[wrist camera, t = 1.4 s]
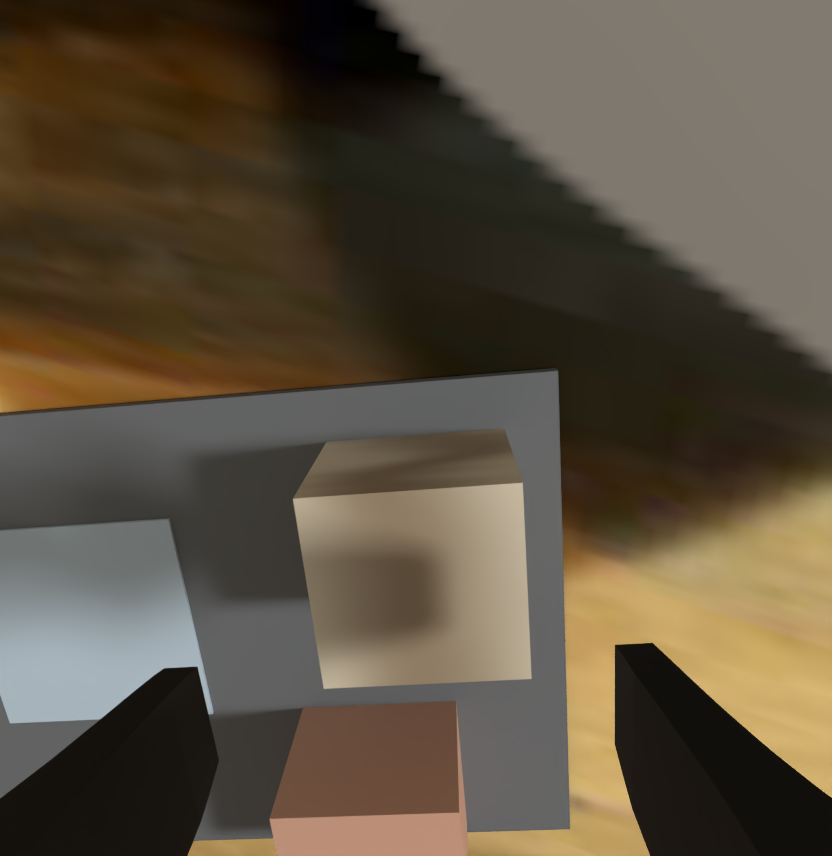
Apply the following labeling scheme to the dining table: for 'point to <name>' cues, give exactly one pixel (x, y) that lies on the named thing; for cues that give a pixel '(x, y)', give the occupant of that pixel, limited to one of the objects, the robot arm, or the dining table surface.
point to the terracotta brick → (373, 783)
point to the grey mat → (251, 582)
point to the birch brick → (416, 560)
